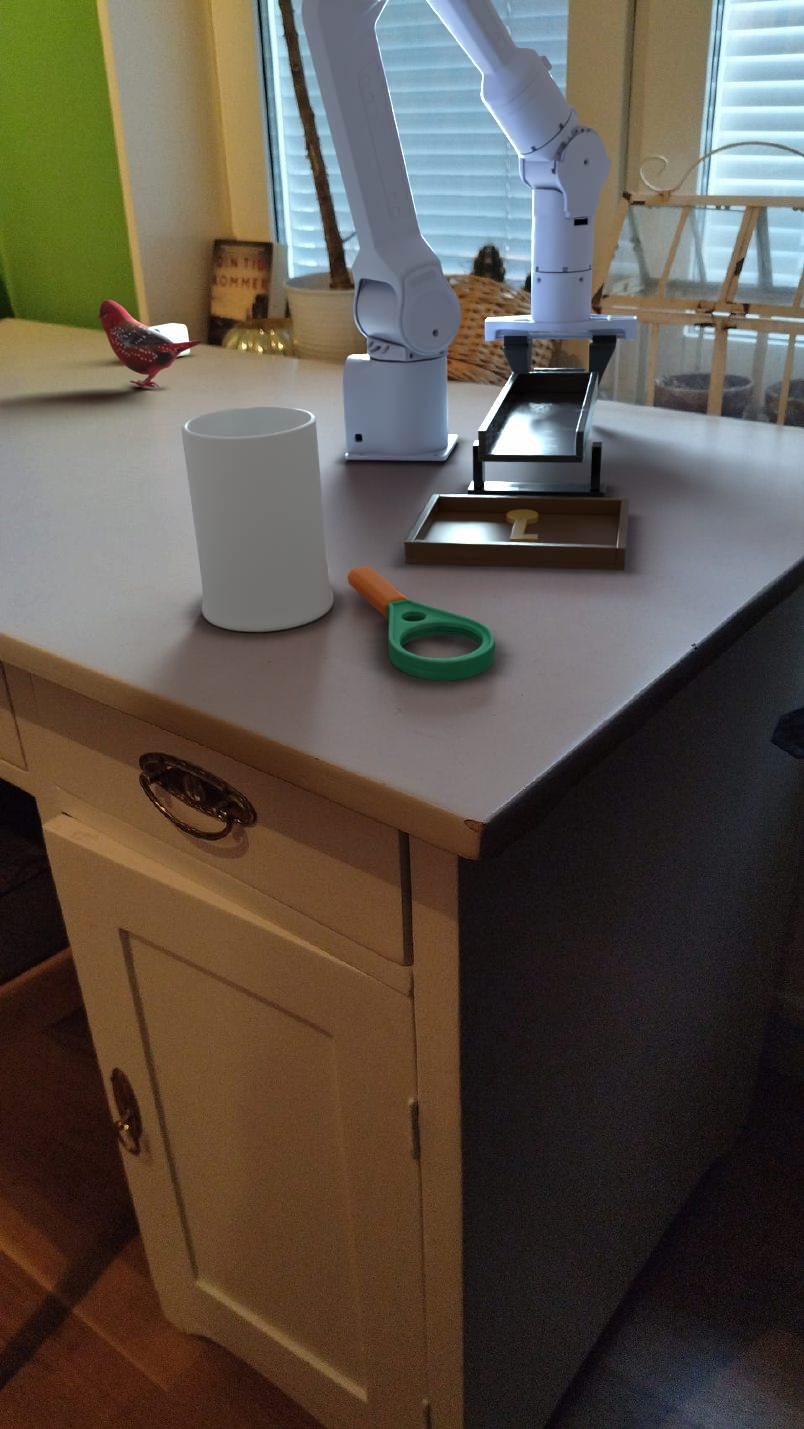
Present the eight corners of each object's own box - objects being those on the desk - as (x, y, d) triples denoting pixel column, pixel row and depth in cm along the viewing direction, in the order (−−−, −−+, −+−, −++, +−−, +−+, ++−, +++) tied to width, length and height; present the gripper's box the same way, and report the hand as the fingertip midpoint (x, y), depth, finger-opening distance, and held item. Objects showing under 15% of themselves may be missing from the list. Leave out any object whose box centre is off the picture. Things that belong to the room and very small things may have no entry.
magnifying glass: (515, 666, 62) (516, 639, 62) (419, 690, 60) (419, 662, 59) (402, 581, 75) (401, 557, 74) (319, 599, 72) (317, 574, 72)
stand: (467, 494, 91) (466, 446, 89) (471, 486, 93) (471, 439, 92) (604, 497, 89) (606, 448, 87) (605, 488, 91) (607, 440, 89)
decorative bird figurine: (117, 380, 140) (103, 297, 136) (217, 393, 131) (206, 304, 126) (99, 384, 138) (85, 300, 134) (199, 398, 129) (188, 308, 124)
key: (499, 545, 79) (499, 538, 79) (508, 515, 85) (508, 508, 85) (537, 546, 79) (537, 539, 78) (543, 515, 84) (543, 509, 84)
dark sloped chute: (478, 461, 85) (478, 430, 84) (519, 385, 111) (519, 360, 110) (582, 463, 83) (584, 431, 82) (600, 385, 109) (601, 360, 108)
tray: (405, 563, 78) (404, 541, 77) (432, 513, 87) (432, 493, 87) (624, 570, 75) (625, 548, 74) (628, 518, 84) (629, 497, 84)
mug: (169, 585, 76) (142, 409, 70) (283, 560, 79) (266, 390, 74) (230, 644, 67) (205, 447, 61) (356, 613, 70) (343, 423, 64)
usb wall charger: (190, 355, 153) (186, 325, 151) (149, 363, 149) (144, 332, 147) (173, 352, 155) (169, 322, 153) (132, 360, 151) (127, 330, 149)
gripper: (640, 262, 106) (632, 405, 113) (491, 265, 109) (491, 404, 115) (639, 272, 100) (631, 422, 107) (481, 275, 103) (482, 421, 109)
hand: (558, 414), depth 111 cm, fingers open, 5 cm apart
